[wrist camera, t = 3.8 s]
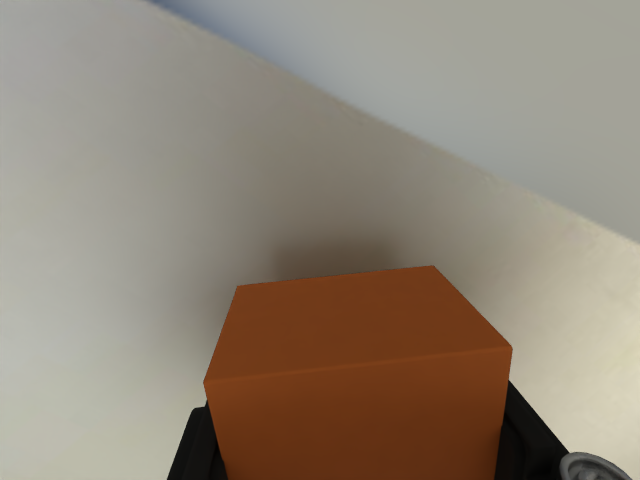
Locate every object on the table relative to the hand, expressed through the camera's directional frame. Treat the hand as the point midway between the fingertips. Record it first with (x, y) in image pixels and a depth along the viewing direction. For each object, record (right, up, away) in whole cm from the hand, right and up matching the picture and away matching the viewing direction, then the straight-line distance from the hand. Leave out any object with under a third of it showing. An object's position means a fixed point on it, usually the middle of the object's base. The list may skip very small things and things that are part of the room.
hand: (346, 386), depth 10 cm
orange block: (0, 0, +1) cm, 1 cm away
